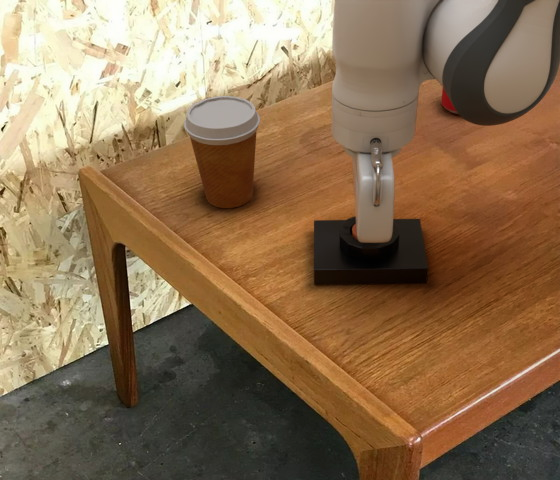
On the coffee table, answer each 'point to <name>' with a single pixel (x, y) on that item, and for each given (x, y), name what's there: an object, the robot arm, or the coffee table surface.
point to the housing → (368, 255)
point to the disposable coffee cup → (224, 147)
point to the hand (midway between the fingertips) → (368, 228)
